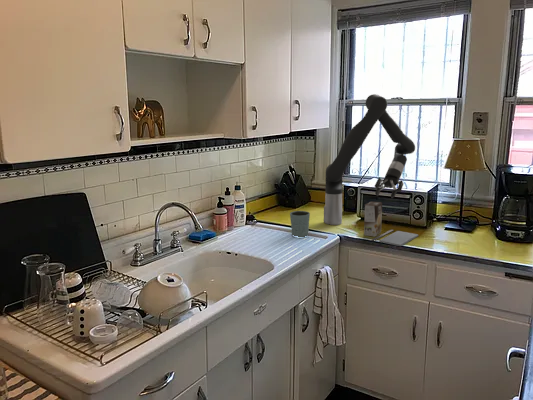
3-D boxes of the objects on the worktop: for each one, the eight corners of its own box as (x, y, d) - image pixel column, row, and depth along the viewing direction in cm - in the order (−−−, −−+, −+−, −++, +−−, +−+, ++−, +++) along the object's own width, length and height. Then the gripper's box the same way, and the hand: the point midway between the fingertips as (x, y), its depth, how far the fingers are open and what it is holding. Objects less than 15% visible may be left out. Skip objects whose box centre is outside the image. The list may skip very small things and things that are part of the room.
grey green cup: (295, 239, 227) (295, 216, 224) (286, 234, 236) (286, 211, 233) (313, 236, 231) (313, 214, 228) (304, 231, 240) (304, 209, 237)
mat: (379, 241, 221) (379, 240, 220) (397, 232, 235) (397, 230, 235) (400, 246, 214) (400, 244, 213) (418, 236, 228) (418, 234, 228)
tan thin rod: (370, 240, 223) (370, 239, 223) (390, 230, 239) (390, 229, 239) (373, 241, 222) (373, 240, 222) (393, 230, 238) (393, 230, 238)
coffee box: (375, 237, 228) (377, 206, 225) (363, 235, 232) (364, 204, 228) (381, 232, 236) (382, 202, 232) (369, 230, 239) (370, 200, 236)
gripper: (380, 166, 246) (369, 190, 240) (405, 168, 237) (394, 193, 231) (384, 174, 251) (374, 198, 245) (409, 177, 242) (398, 202, 236)
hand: (384, 196), depth 238 cm, fingers open, 8 cm apart
